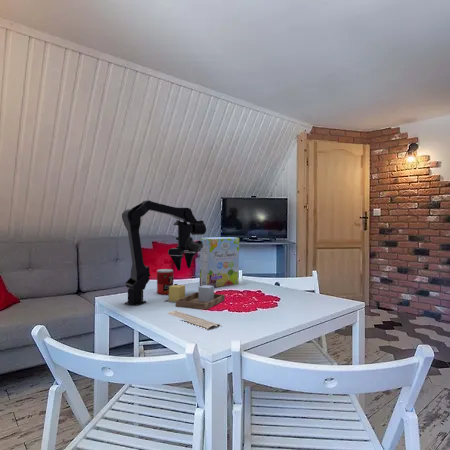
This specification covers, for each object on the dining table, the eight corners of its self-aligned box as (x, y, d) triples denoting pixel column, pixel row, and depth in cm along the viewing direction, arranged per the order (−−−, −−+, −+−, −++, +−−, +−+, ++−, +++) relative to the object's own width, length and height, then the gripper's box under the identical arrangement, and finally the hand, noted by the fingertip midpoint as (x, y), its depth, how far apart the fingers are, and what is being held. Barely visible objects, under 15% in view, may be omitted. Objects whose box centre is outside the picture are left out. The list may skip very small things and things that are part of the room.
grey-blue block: (209, 302, 148) (209, 288, 148) (198, 301, 150) (198, 287, 150) (213, 299, 153) (214, 285, 152) (203, 298, 154) (203, 285, 154)
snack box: (209, 289, 179) (209, 238, 179) (198, 286, 186) (199, 237, 185) (239, 283, 194) (240, 237, 193) (228, 281, 200) (229, 236, 200)
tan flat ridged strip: (166, 317, 130) (166, 312, 130) (181, 313, 135) (181, 309, 135) (207, 332, 113) (207, 326, 113) (223, 327, 118) (223, 322, 118)
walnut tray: (206, 311, 136) (206, 304, 136) (175, 307, 141) (175, 300, 141) (224, 301, 152) (224, 294, 152) (196, 298, 158) (196, 292, 158)
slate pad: (180, 304, 146) (180, 302, 146) (164, 302, 149) (164, 301, 149) (189, 300, 153) (189, 298, 153) (173, 298, 156) (173, 297, 156)
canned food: (165, 295, 164) (165, 271, 163) (153, 293, 168) (153, 270, 168) (176, 292, 170) (176, 270, 170) (165, 290, 175) (165, 268, 174)
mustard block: (168, 300, 150) (168, 286, 150) (174, 298, 154) (174, 284, 154) (179, 301, 148) (179, 287, 148) (184, 299, 152) (185, 285, 152)
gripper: (190, 236, 150) (189, 273, 150) (208, 234, 167) (208, 267, 167) (167, 235, 154) (167, 271, 154) (188, 234, 171) (187, 266, 171)
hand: (184, 269), depth 161 cm, fingers open, 9 cm apart
